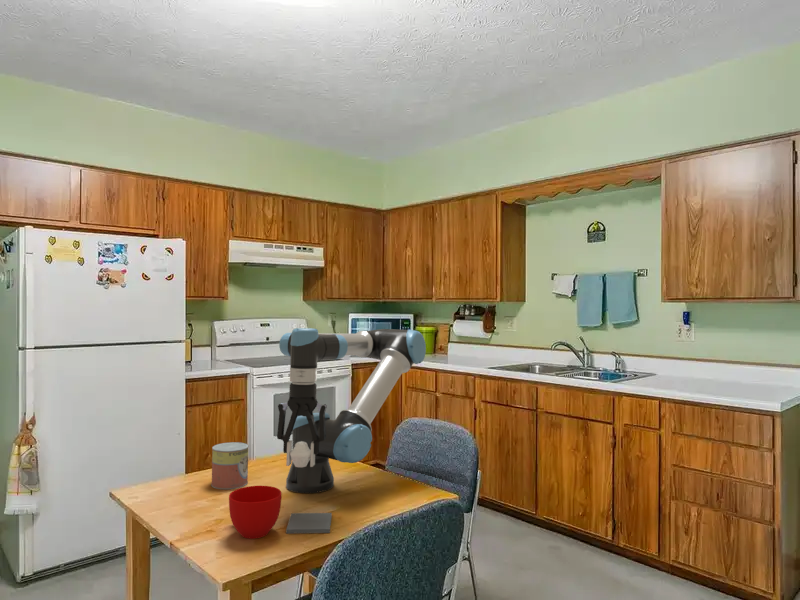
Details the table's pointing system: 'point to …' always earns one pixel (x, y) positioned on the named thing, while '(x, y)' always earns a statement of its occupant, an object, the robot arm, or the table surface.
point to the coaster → (309, 523)
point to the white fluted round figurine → (300, 454)
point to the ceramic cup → (254, 510)
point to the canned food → (229, 465)
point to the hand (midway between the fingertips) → (300, 464)
